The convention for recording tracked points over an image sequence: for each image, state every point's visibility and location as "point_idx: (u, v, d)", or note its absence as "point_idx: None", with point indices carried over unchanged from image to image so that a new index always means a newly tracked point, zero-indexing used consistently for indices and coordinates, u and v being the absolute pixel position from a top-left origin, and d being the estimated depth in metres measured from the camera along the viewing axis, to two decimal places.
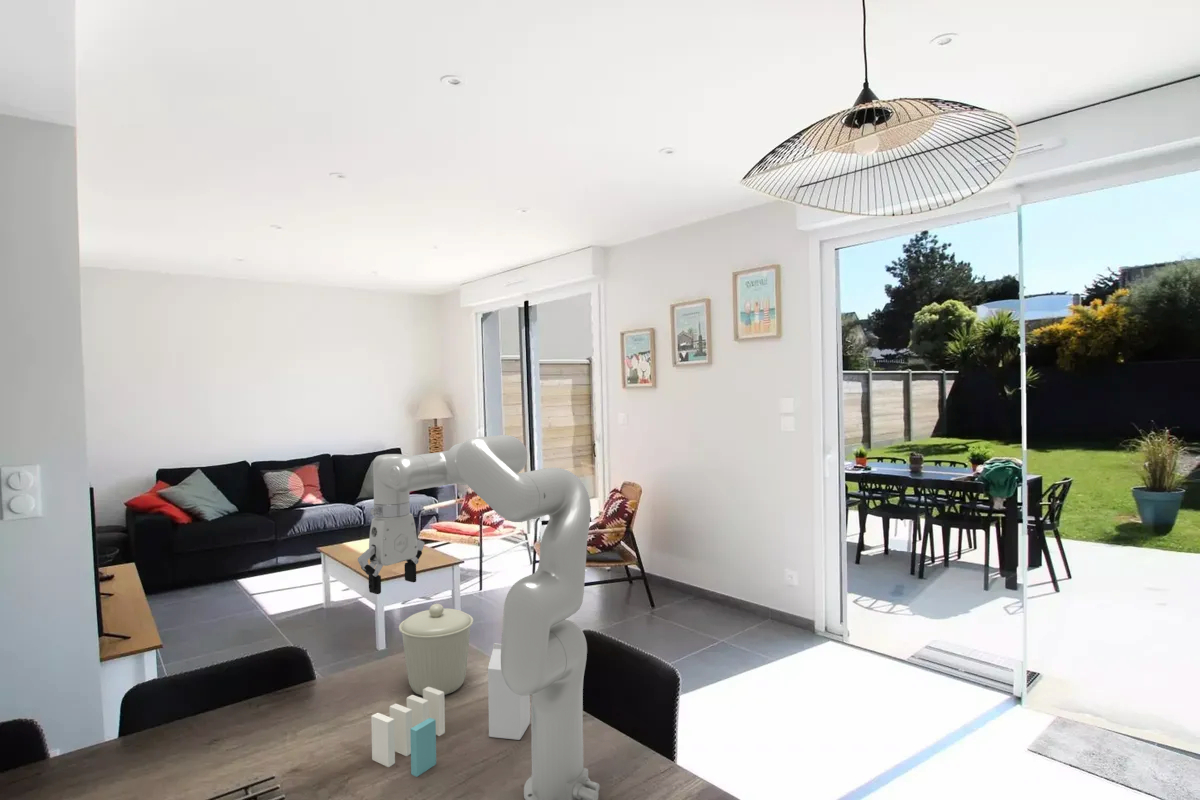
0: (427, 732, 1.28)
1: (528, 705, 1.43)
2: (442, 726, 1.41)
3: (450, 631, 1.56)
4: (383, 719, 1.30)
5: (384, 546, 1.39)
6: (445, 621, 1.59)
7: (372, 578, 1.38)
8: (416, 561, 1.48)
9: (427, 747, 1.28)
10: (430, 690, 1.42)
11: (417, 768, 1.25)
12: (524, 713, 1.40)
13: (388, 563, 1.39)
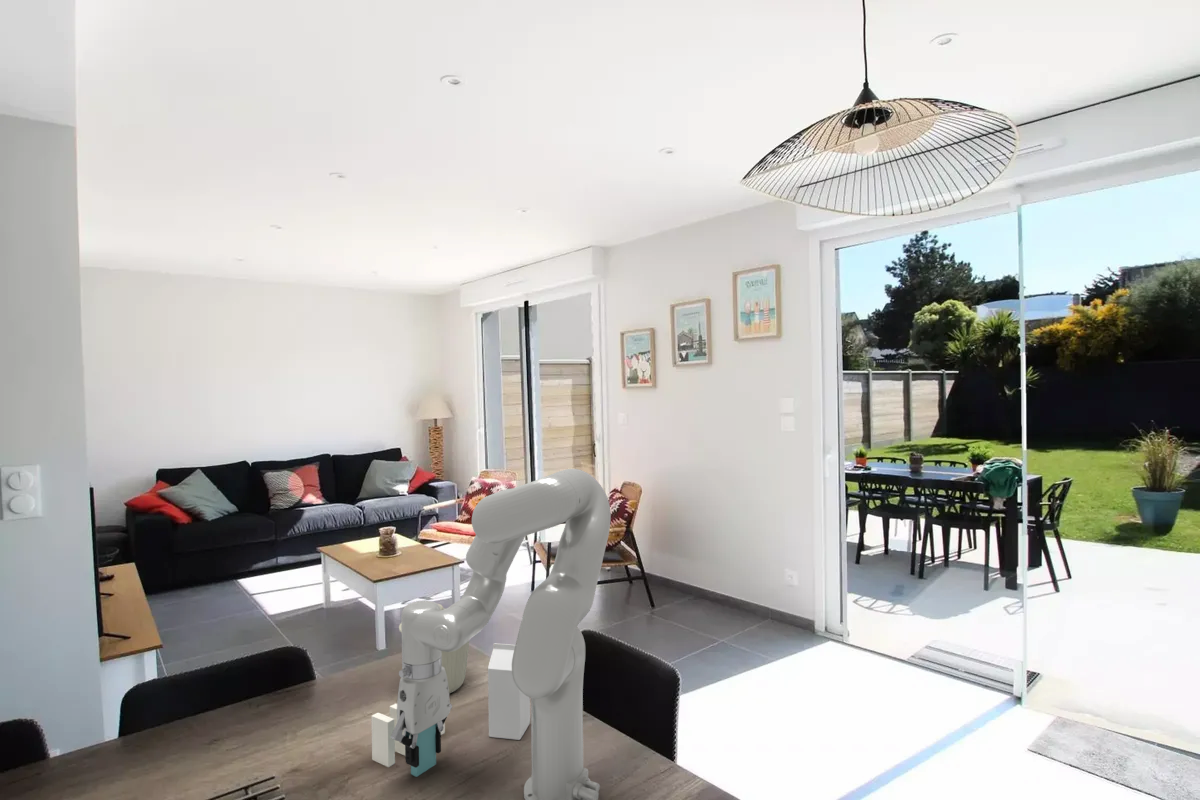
0: (427, 732, 1.28)
1: (528, 705, 1.43)
2: None
3: None
4: (383, 719, 1.30)
5: (414, 713, 1.23)
6: None
7: (409, 750, 1.24)
8: (441, 728, 1.30)
9: (427, 747, 1.28)
10: None
11: (417, 768, 1.25)
12: (524, 713, 1.40)
13: (419, 731, 1.23)
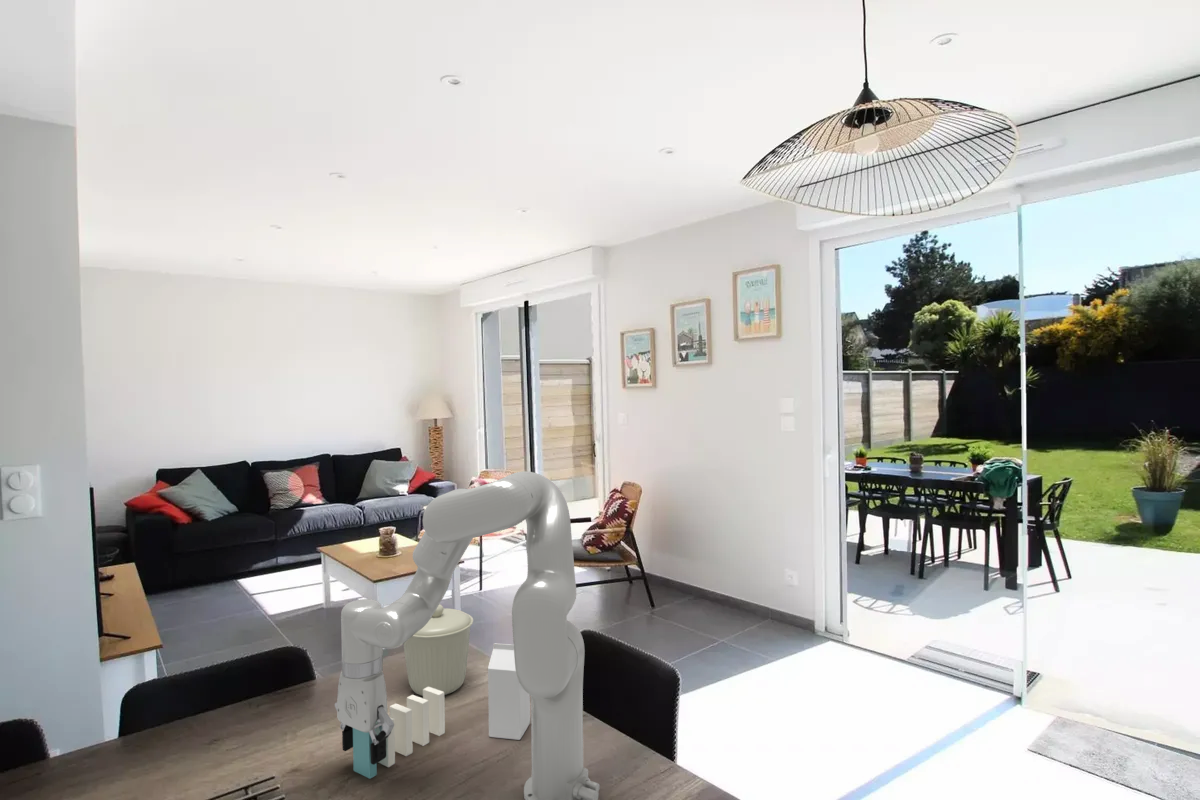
0: (362, 737, 1.26)
1: (528, 705, 1.43)
2: (442, 726, 1.41)
3: (450, 631, 1.56)
4: None
5: (338, 700, 1.27)
6: (445, 621, 1.59)
7: None
8: (375, 741, 1.23)
9: (362, 752, 1.26)
10: (430, 690, 1.42)
11: (353, 763, 1.28)
12: (524, 713, 1.40)
13: (340, 720, 1.26)
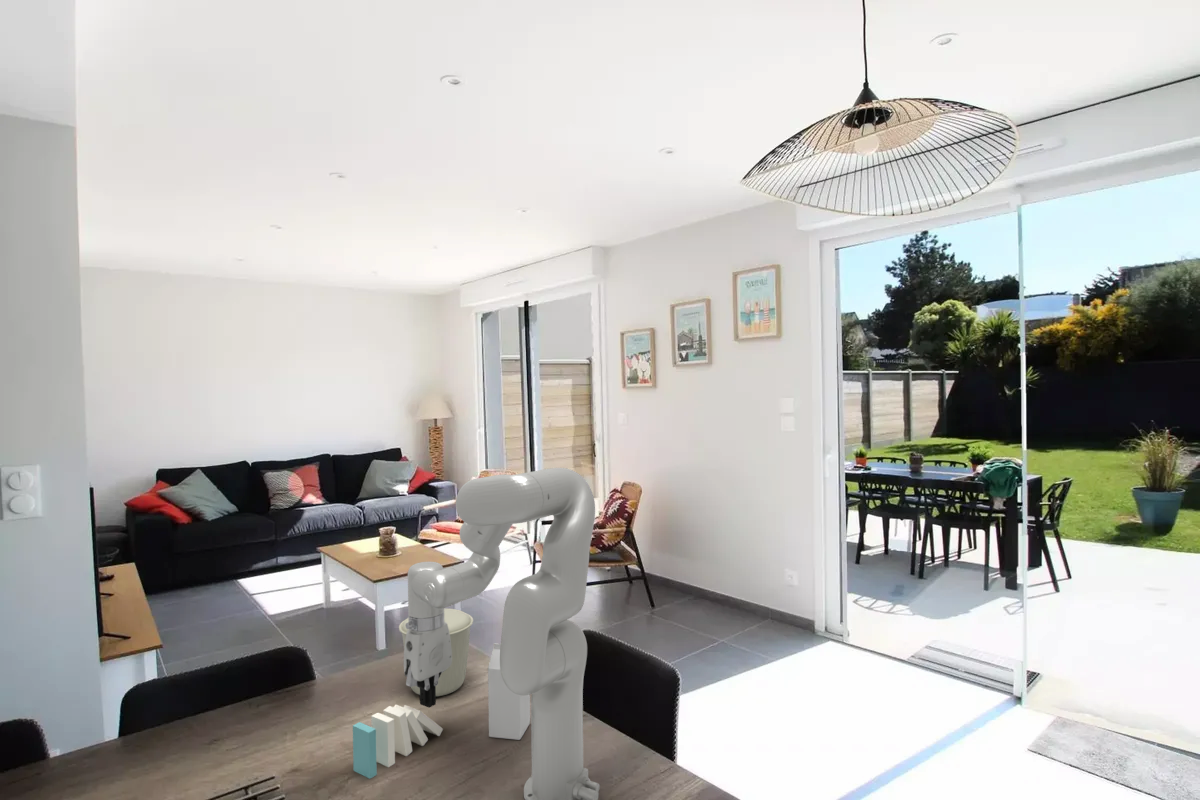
0: (362, 737, 1.26)
1: (528, 705, 1.43)
2: (437, 728, 1.39)
3: (450, 631, 1.56)
4: (383, 719, 1.30)
5: (419, 661, 1.35)
6: (445, 621, 1.59)
7: (424, 692, 1.39)
8: (435, 683, 1.41)
9: (362, 752, 1.26)
10: None
11: (353, 763, 1.28)
12: (524, 713, 1.40)
13: (423, 678, 1.36)
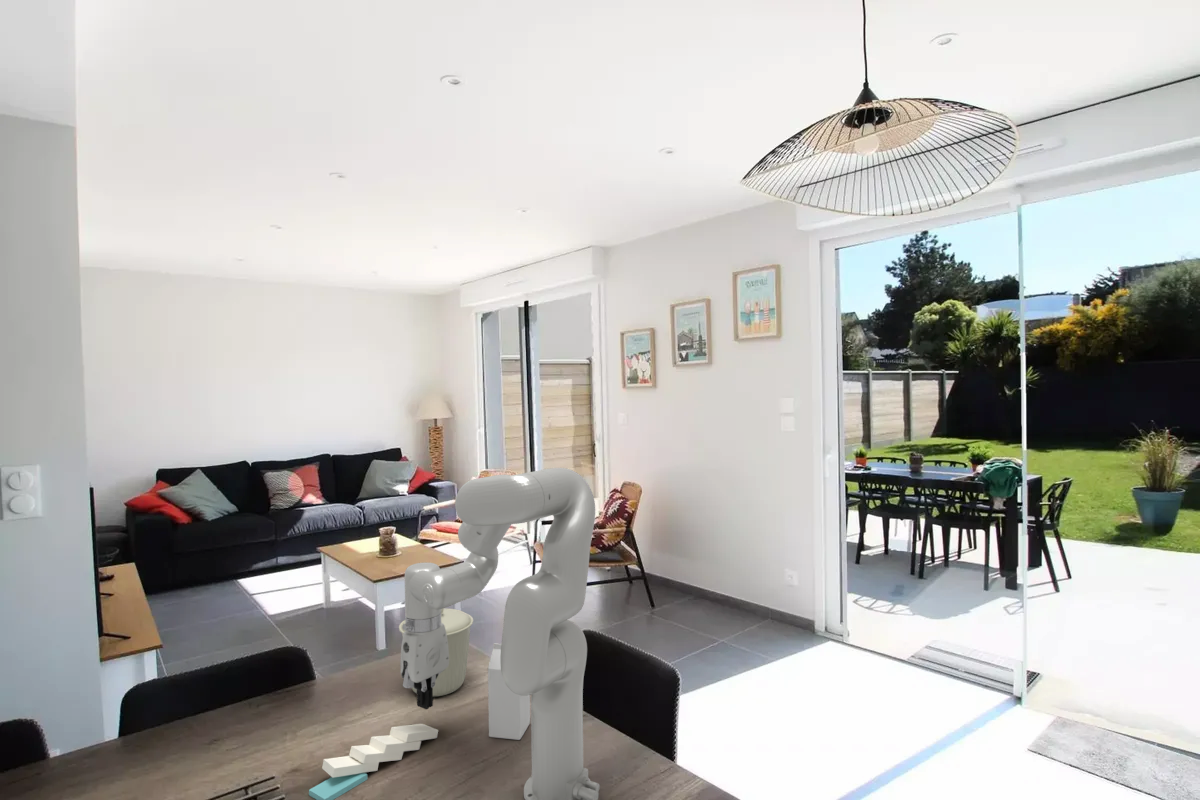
0: None
1: (528, 705, 1.43)
2: (432, 734, 1.38)
3: (450, 631, 1.56)
4: (329, 772, 1.22)
5: (416, 663, 1.35)
6: (445, 621, 1.59)
7: (420, 693, 1.38)
8: (432, 684, 1.40)
9: None
10: (396, 735, 1.34)
11: None
12: (524, 713, 1.40)
13: (420, 680, 1.35)
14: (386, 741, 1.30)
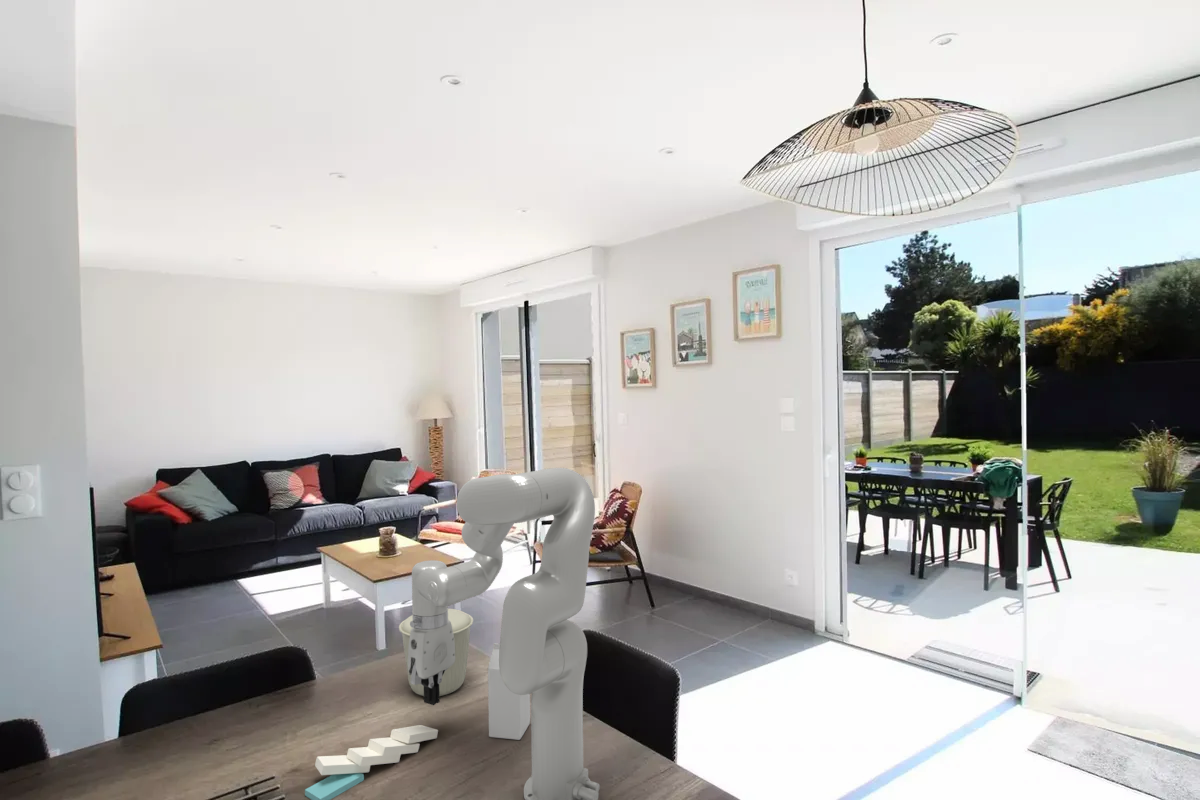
0: None
1: (528, 705, 1.43)
2: (432, 734, 1.38)
3: None
4: (319, 769, 1.22)
5: (424, 659, 1.36)
6: None
7: (428, 689, 1.40)
8: (439, 681, 1.42)
9: None
10: (397, 737, 1.33)
11: None
12: (524, 713, 1.40)
13: (428, 676, 1.37)
14: (385, 743, 1.29)
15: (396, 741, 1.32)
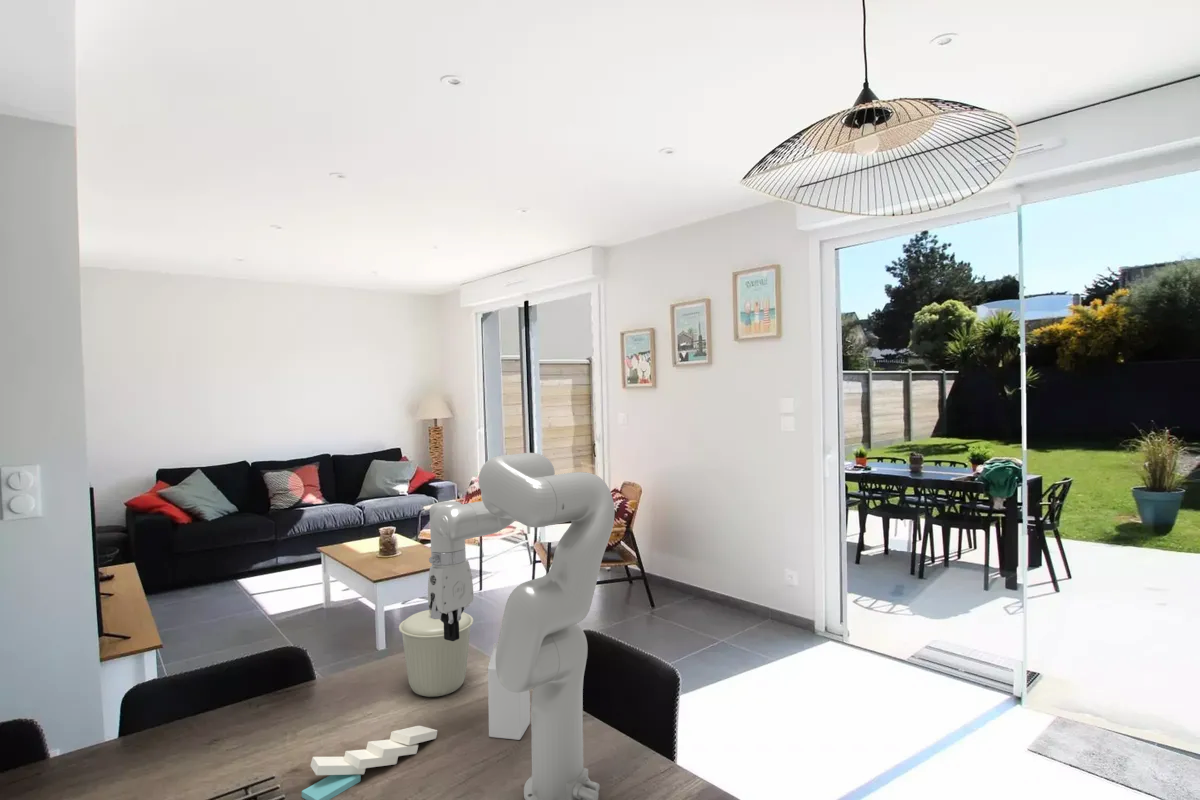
0: None
1: (528, 705, 1.43)
2: (431, 735, 1.38)
3: None
4: (314, 769, 1.22)
5: (443, 594, 1.40)
6: None
7: (447, 626, 1.44)
8: (458, 618, 1.46)
9: None
10: (397, 739, 1.33)
11: None
12: (524, 713, 1.40)
13: (447, 611, 1.41)
14: (383, 746, 1.29)
15: (394, 743, 1.32)
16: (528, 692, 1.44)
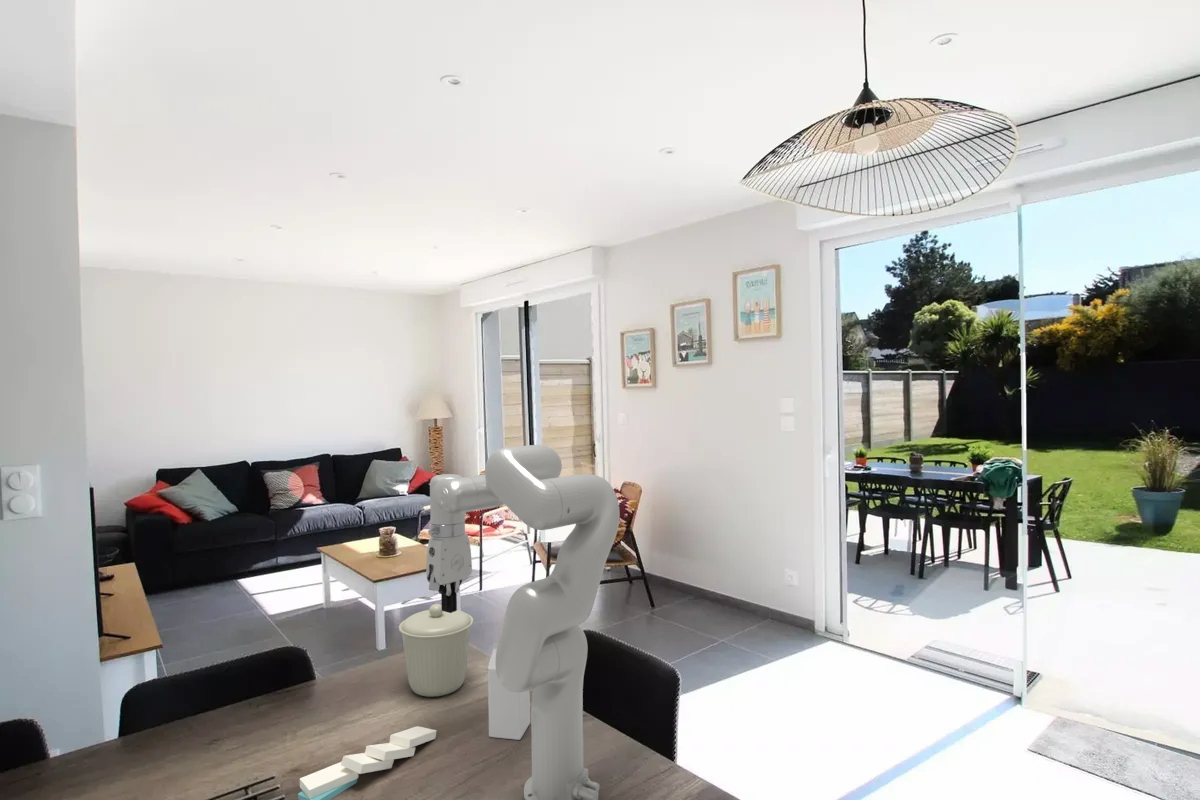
0: None
1: (528, 705, 1.43)
2: (431, 735, 1.38)
3: (450, 631, 1.56)
4: (306, 792, 1.18)
5: (442, 566, 1.40)
6: (445, 621, 1.59)
7: (445, 597, 1.44)
8: (456, 590, 1.46)
9: None
10: (397, 742, 1.32)
11: None
12: (524, 713, 1.40)
13: (446, 582, 1.41)
14: (383, 749, 1.27)
15: (392, 746, 1.31)
16: (528, 692, 1.44)
